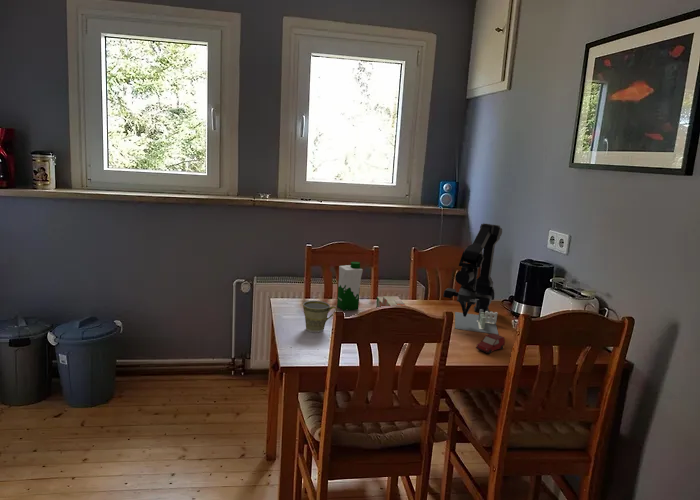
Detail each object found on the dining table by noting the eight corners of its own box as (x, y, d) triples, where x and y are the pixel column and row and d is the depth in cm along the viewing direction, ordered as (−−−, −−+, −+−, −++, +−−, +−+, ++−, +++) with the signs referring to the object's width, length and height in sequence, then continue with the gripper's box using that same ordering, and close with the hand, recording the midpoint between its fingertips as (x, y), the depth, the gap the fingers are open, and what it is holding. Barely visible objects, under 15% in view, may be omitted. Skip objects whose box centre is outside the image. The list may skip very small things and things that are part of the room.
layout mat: (454, 312, 233) (454, 311, 233) (494, 317, 231) (494, 316, 231) (455, 328, 212) (455, 328, 212) (498, 334, 209) (498, 334, 209)
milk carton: (361, 310, 226) (365, 265, 222) (341, 311, 222) (345, 265, 218) (352, 303, 233) (356, 260, 229) (333, 305, 230) (337, 260, 225)
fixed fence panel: (478, 322, 222) (479, 310, 221) (478, 321, 224) (479, 309, 223) (495, 324, 221) (497, 312, 220) (495, 323, 223) (497, 311, 222)
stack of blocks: (374, 317, 218) (377, 289, 215) (389, 317, 219) (392, 289, 217) (387, 337, 197) (390, 305, 195) (403, 337, 199) (407, 306, 196)
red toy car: (474, 350, 192) (475, 337, 191) (492, 344, 199) (493, 331, 198) (488, 356, 187) (489, 342, 186) (505, 349, 195) (507, 336, 194)
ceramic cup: (302, 334, 193) (304, 308, 191) (300, 324, 202) (302, 300, 200) (337, 335, 195) (339, 309, 193) (334, 325, 204) (335, 301, 202)
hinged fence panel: (479, 321, 221) (480, 311, 221) (482, 322, 221) (483, 312, 220) (481, 328, 214) (482, 317, 213) (484, 328, 214) (485, 318, 213)
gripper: (442, 280, 210) (437, 317, 213) (489, 288, 203) (484, 326, 206) (448, 274, 220) (444, 309, 223) (494, 282, 213) (488, 318, 216)
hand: (464, 316), depth 217 cm, fingers closed
